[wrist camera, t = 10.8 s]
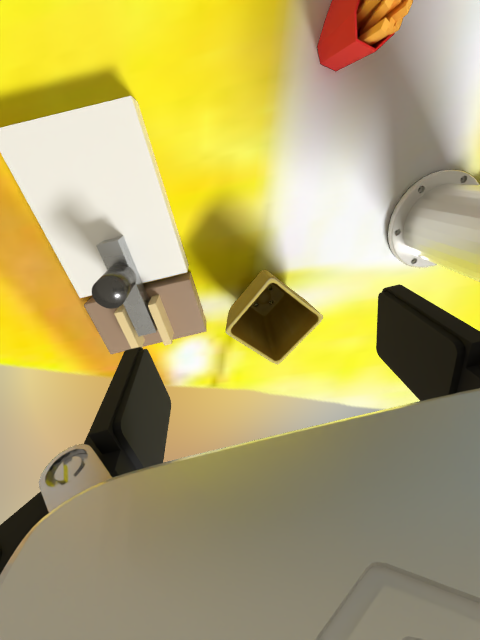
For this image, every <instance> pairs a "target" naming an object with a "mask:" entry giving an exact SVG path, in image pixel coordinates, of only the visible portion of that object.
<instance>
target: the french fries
mask: <svg viewBox="0 0 480 640" xmlns="http://www.w3.org/2000/svg"><path fill="white" fill-rule="evenodd" d="M412 3H413V0H332V2H331V5H330V8H329V10H328V13H327V16H326V19H325V22H324V26H323V29H322V32H321V35H320V39H319V42H318V46H317V48H318V54H319V59H320V64H322V65H324V66H326V67H328V68H330V69H332V70H334V71H337V70H339V69H341V68H343V67H345V66H347V65H349V64H351V63H353V62H355V61H357V60H359V59H361V58H363V57H365V56H367V55H369V54H371V53H373V52H375V51H377V50H378V49H379V48H380V47H381V46H382V45H383V44H384V43H385V42H386V41H387V40H388V39H389V38H391V37H392V36H393V35H394V33H395V32H396V31H398V30H399V29H400V26H401V23H402V20H403V17H404V16H405V15H407V14H408V12H409V10H410V7H411V5H412Z"/></svg>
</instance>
